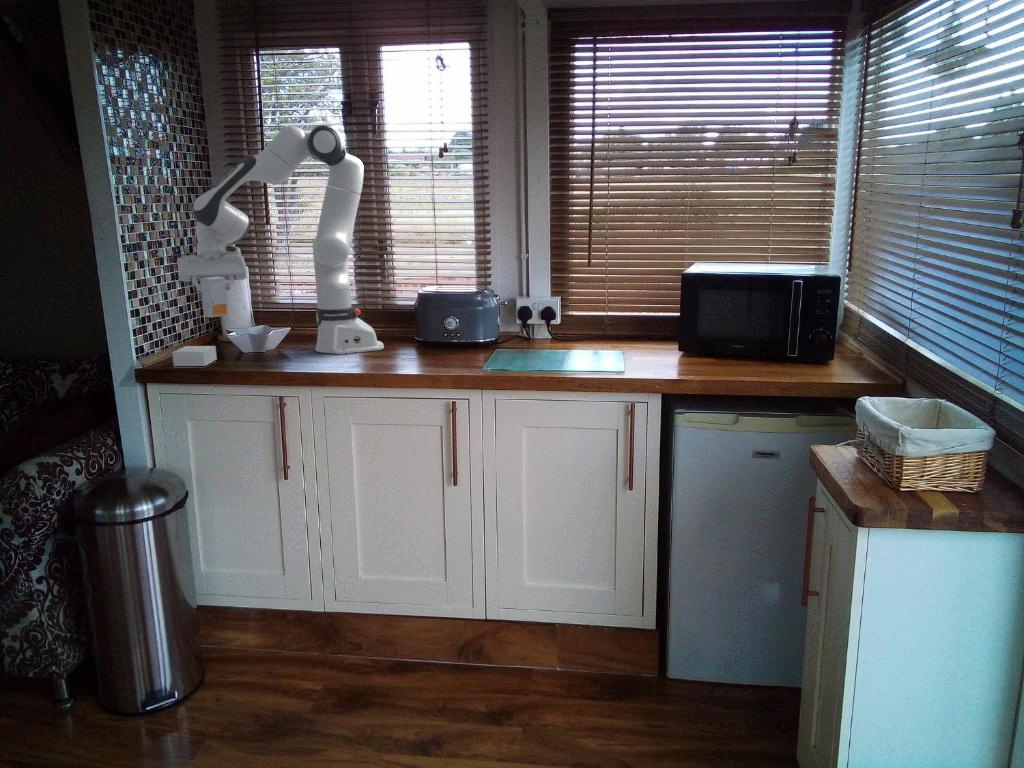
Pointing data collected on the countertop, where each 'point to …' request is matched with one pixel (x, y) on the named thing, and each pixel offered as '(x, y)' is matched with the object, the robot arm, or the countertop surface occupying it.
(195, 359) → the grey block
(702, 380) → the countertop surface
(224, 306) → the skincare box
